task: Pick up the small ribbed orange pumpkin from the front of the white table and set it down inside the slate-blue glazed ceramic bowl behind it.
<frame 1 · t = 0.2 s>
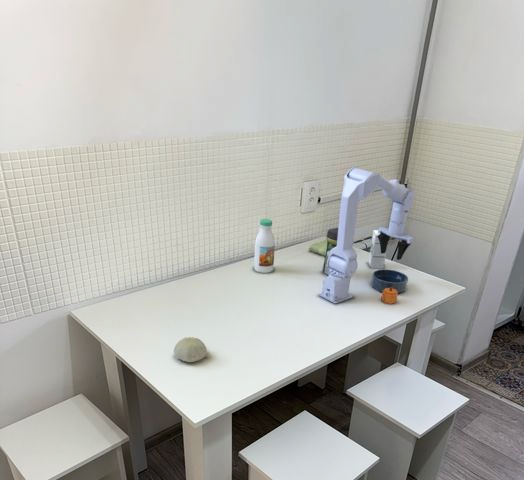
hand: (390, 256, 188), 10 cm above the table, tool pointing down, fingers open, 7 cm apart
sea urchin shell: (190, 356, 139), on the table
washcloth: (329, 251, 218), on the table
syrup box: (375, 266, 206), on the table
coffee jar: (334, 273, 197), on the table
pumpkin: (388, 301, 177), on the table
milk bottle: (263, 270, 196), on the table
bowl: (388, 287, 187), on the table
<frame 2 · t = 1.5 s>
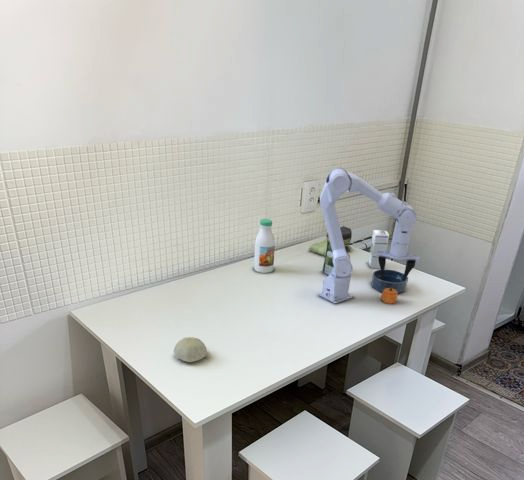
hand: (392, 278, 173), 8 cm above the table, tool pointing down, fingers open, 7 cm apart
nothing on the table moved.
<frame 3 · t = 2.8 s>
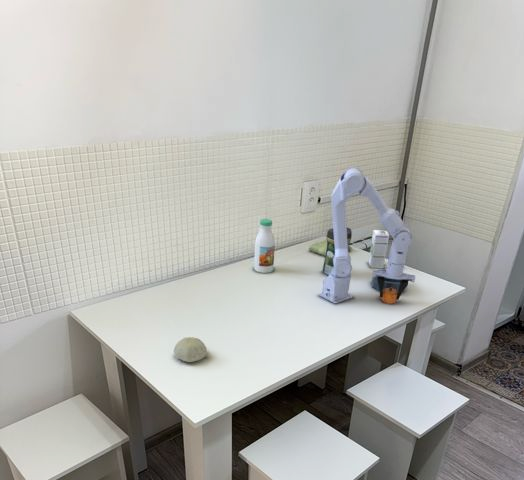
hand: (389, 297, 176), 1 cm above the table, tool pointing down, fingers closed on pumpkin, 5 cm apart
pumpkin: (388, 301, 177), on the table, touching gripper
everything else where it was.
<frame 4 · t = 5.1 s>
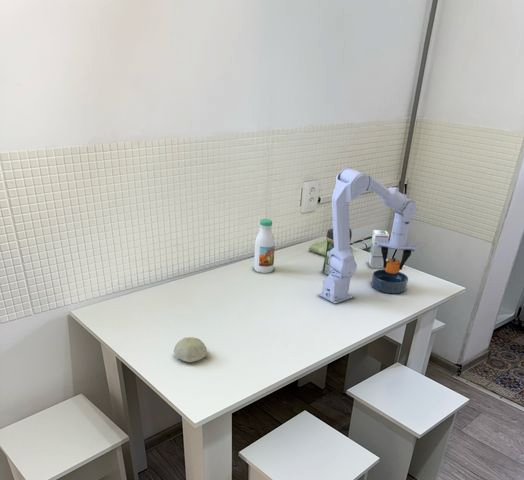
hand: (392, 268, 182), 8 cm above the table, tool pointing down, fingers closed on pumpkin, 5 cm apart
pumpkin: (391, 271, 183), point 7 cm above the table, touching gripper
everything else where it was.
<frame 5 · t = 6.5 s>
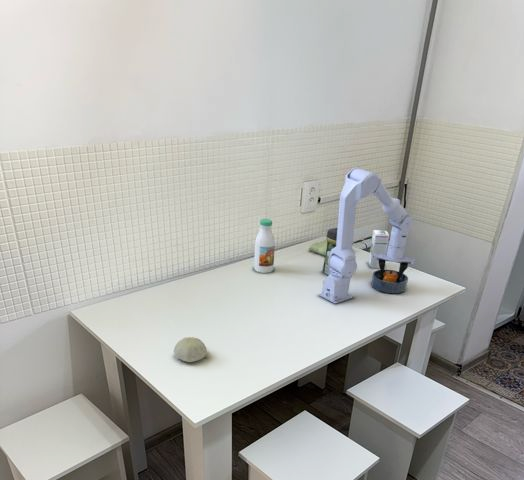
hand: (389, 279, 186), 3 cm above the table, tool pointing down, fingers closed on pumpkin, 5 cm apart
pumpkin: (388, 283, 187), point 2 cm above the table, touching gripper
everything else where it was.
when the fingers open (2 cm above the table, at t = 7.4 s): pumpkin stays where it is, resting on bowl.
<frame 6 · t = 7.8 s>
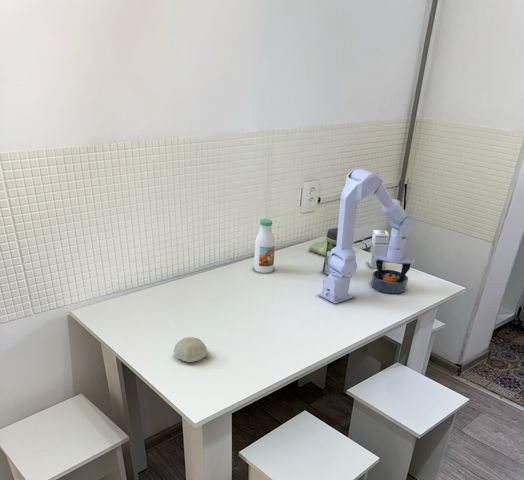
hand: (389, 281, 186), 2 cm above the table, tool pointing down, fingers open, 7 cm apart
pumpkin: (388, 285, 187), resting on bowl
everything else where it was.
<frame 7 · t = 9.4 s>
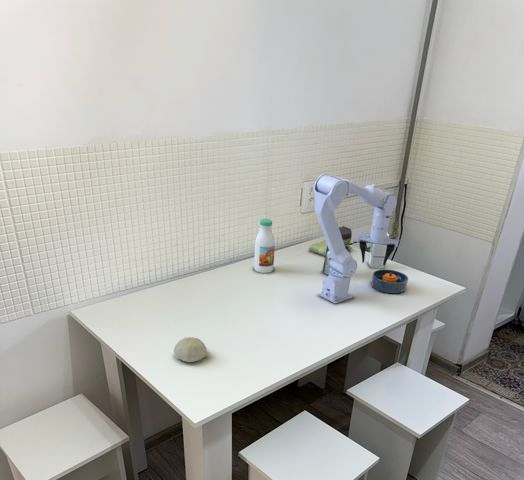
hand: (373, 263, 180), 10 cm above the table, tool pointing down, fingers open, 7 cm apart
nothing on the table moved.
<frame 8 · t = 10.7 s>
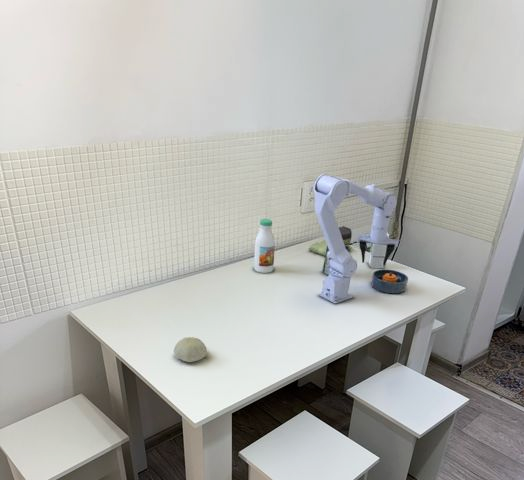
hand: (373, 263, 180), 10 cm above the table, tool pointing down, fingers open, 7 cm apart
nothing on the table moved.
at the end: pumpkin inside the target area in the bowl (0.0 cm from its centre), point 0.5 cm above the bowl's base; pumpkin tilted 0°; the gripper is holding nothing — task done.
